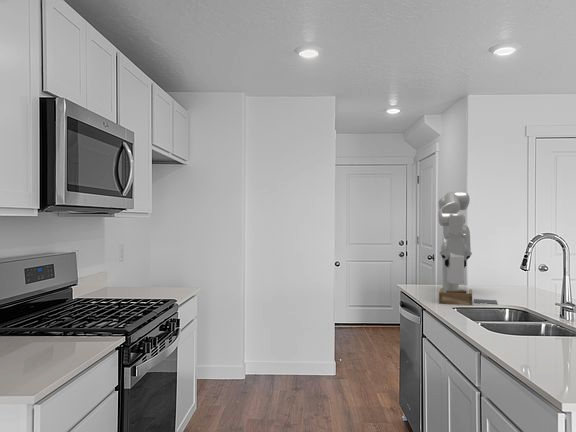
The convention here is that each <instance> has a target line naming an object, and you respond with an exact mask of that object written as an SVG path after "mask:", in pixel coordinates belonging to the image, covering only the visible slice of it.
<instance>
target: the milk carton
mask: <svg viewBox="0 0 576 432" xmlns="http://www.w3.org/2000/svg"><path fill="white" fill-rule="evenodd" d="M450 255H451V256H449V257H448V258H447V260H448V267H447V282H449V283H451V284H458V285H459V284H462V285H463V284H465V268H464V256H461V255H457V254H453V253H450Z"/></svg>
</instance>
